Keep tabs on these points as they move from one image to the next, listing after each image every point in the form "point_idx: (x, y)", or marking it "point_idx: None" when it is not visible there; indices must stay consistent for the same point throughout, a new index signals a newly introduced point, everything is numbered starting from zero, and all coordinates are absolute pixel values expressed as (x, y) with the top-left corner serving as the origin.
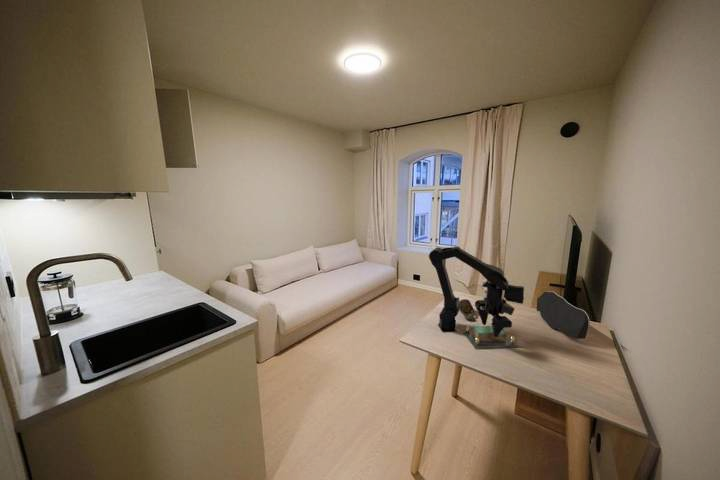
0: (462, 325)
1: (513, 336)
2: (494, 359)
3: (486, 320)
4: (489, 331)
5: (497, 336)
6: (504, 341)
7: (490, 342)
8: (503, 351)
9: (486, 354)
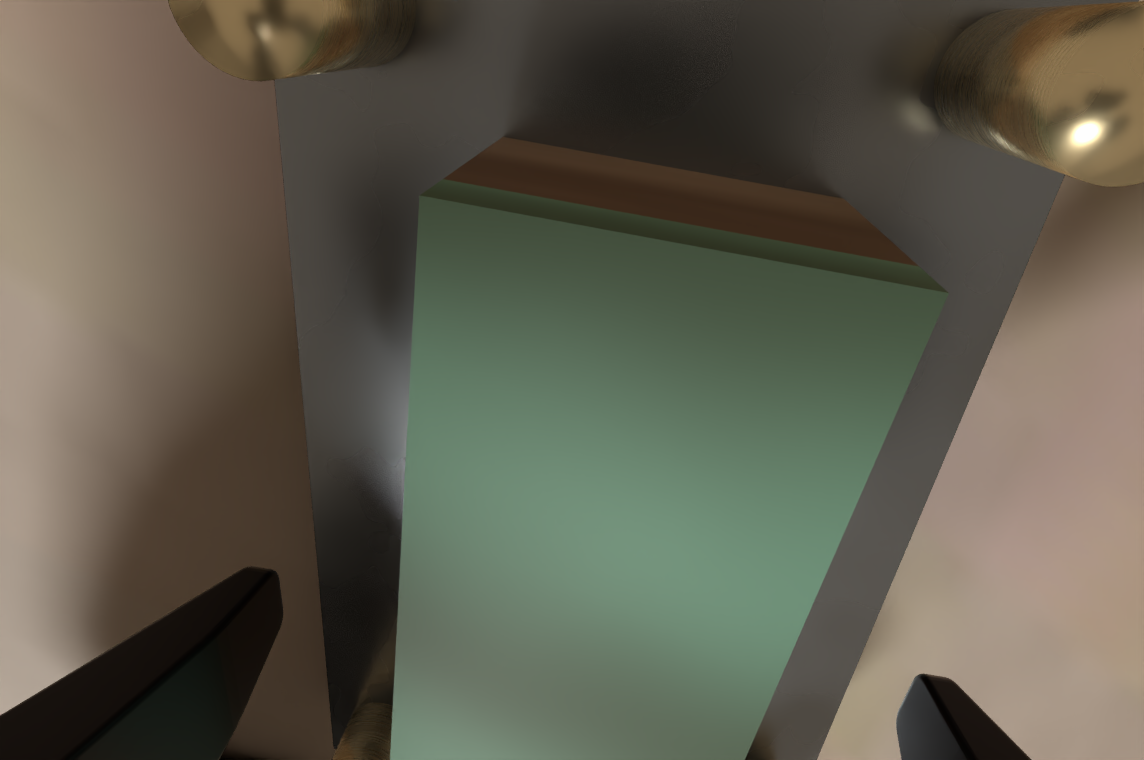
0: (109, 601)
1: (1132, 46)
2: (1123, 704)
3: (172, 683)
4: (682, 747)
5: (964, 702)
6: None
7: None
8: (1038, 433)
9: None
